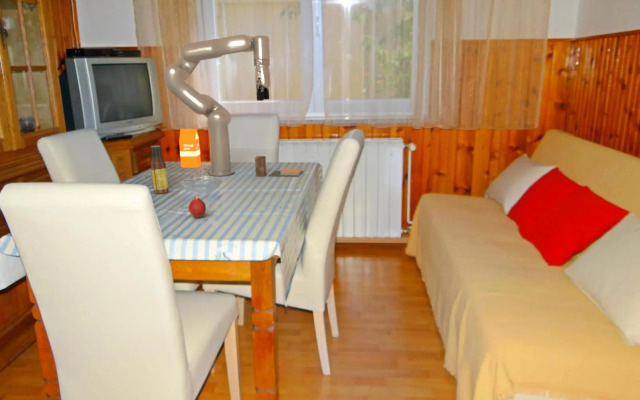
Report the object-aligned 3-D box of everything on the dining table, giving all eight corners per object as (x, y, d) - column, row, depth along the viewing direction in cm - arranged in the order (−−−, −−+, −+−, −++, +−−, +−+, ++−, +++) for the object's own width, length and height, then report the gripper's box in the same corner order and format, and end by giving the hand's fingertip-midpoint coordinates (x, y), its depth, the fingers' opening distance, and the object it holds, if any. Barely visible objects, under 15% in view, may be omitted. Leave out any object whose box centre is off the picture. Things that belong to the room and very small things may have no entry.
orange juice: (197, 167, 276) (194, 129, 271) (181, 167, 276) (178, 129, 271) (201, 164, 283) (198, 128, 278) (185, 164, 283) (182, 128, 278)
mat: (267, 178, 247) (267, 176, 246) (274, 172, 260) (274, 170, 260) (298, 178, 244) (298, 177, 244) (304, 172, 258) (304, 171, 257)
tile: (280, 171, 249) (298, 172, 248) (284, 168, 257) (302, 168, 255) (280, 174, 249) (298, 175, 248) (284, 171, 257) (302, 172, 256)
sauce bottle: (171, 191, 222) (168, 145, 217) (163, 194, 216) (158, 147, 211) (159, 190, 224) (154, 144, 219) (149, 193, 219) (145, 146, 214)
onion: (190, 216, 184) (189, 194, 182) (207, 215, 185) (205, 193, 183) (188, 220, 179) (186, 198, 177) (205, 220, 179) (203, 197, 177)
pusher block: (255, 178, 247) (254, 157, 244) (258, 176, 250) (257, 156, 248) (263, 178, 246) (263, 157, 243) (266, 176, 250) (265, 156, 247)
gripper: (264, 62, 236) (265, 101, 240) (274, 63, 252) (275, 98, 256) (248, 63, 237) (250, 101, 241) (259, 63, 253) (260, 98, 258)
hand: (263, 99), depth 249 cm, fingers open, 9 cm apart
